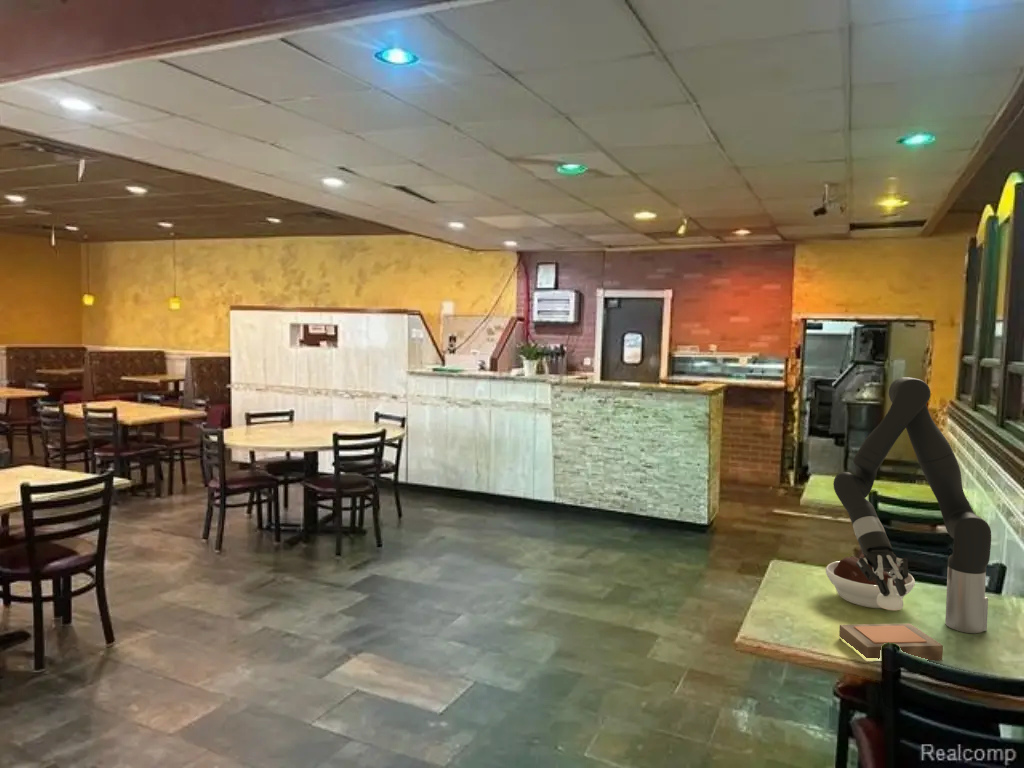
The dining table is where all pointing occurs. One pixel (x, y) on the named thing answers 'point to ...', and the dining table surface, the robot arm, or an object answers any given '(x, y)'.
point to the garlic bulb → (890, 598)
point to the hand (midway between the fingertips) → (895, 594)
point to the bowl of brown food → (859, 582)
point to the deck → (872, 650)
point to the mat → (889, 634)
